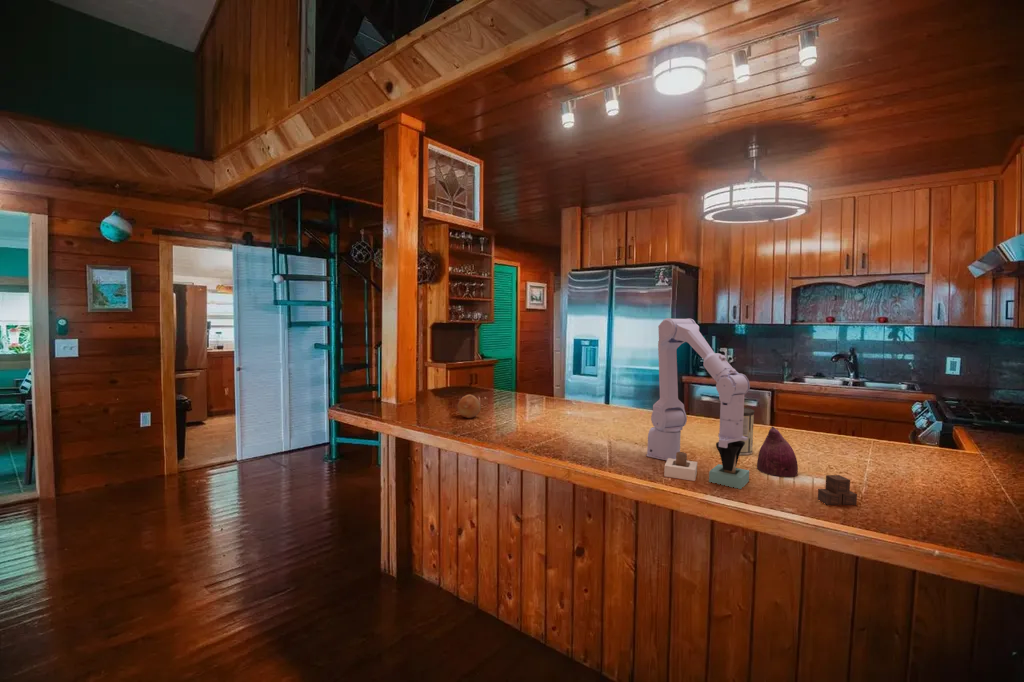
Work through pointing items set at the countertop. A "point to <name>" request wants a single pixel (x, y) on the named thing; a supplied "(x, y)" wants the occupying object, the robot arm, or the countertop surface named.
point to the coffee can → (748, 431)
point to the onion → (469, 406)
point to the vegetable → (777, 456)
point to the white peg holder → (680, 470)
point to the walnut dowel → (681, 459)
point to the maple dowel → (732, 469)
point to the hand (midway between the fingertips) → (729, 468)
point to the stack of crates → (837, 491)
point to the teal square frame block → (729, 477)
